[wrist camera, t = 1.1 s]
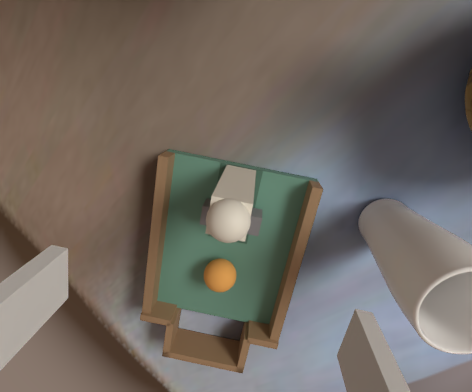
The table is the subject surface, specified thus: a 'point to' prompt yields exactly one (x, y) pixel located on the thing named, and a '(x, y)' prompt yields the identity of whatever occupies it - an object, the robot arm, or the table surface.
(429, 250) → the drinking glass
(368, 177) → the table surface
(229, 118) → the table surface
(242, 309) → the pitch
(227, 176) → the striker
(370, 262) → the table surface
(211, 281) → the ball
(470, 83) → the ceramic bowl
